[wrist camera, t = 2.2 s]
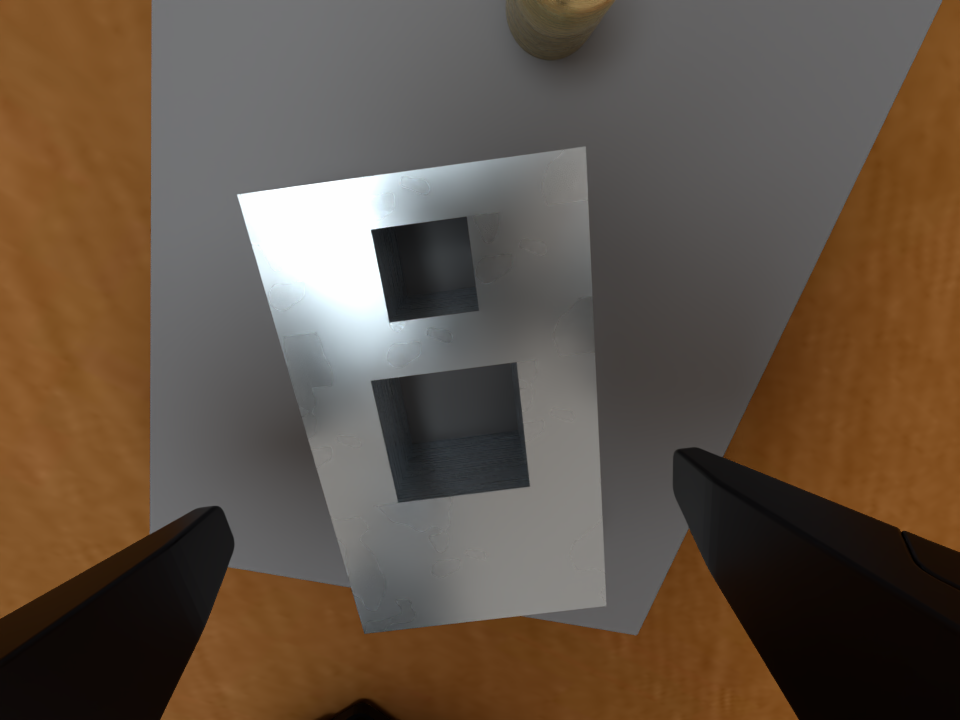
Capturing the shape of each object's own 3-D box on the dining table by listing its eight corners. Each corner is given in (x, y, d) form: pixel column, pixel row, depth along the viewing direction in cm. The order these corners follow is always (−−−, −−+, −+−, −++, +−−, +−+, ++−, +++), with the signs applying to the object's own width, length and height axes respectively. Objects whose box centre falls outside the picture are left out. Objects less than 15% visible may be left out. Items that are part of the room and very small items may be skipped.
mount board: (628, 613, 18) (637, 635, 17) (167, 533, 17) (150, 554, 16) (1028, -252, 10) (1086, -298, 9) (190, -595, 8) (154, -697, 7)
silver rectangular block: (581, 532, 16) (606, 605, 13) (383, 556, 16) (364, 633, 13) (557, 159, 12) (585, 146, 9) (292, 196, 12) (236, 194, 9)
